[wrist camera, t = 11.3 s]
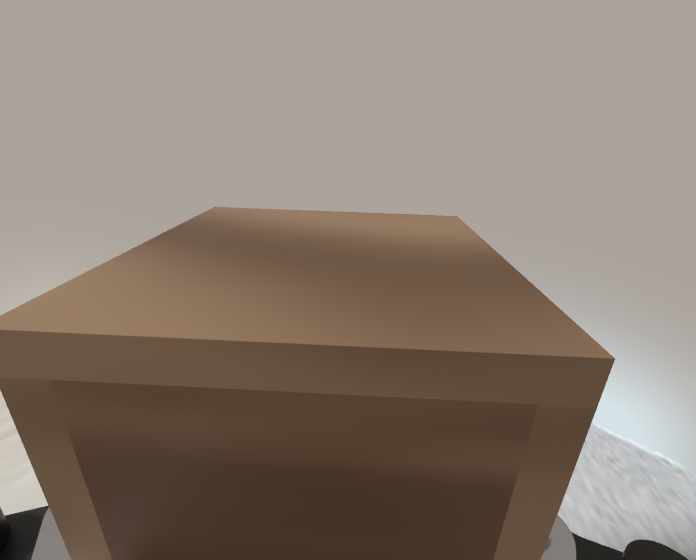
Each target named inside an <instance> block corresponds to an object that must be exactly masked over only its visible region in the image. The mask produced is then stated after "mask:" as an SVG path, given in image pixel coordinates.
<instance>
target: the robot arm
mask: <svg viewBox="0 0 696 560" xmlns="http://www.w3.org/2000/svg"><path fill="white" fill-rule="evenodd" d="M0 560H71V558H70V556H69V553H68V551H67V548H66V546H65V544H64V541H63V539H62V536H61V534H60V532H59V529H58V527H57V524H56V522H55V519H54V517H53V515H52V512H51V510H50V507H49V506H45V507H41V508H36V509H32V510H28V511H23V512H19V513H15V514H10V515H6V516H4V514H3V512H2V510H1V508H0ZM541 560H688V559H687V558H685V557H684V556H682V555H681V554H680V553H678V552H676V551H675V550H673V549H671V548H669V547H667V546H665V545H663V544H660V543H657V542H654V541H650V540H635V541H633V542H630V543H629V544H628V545H627V547H626V549H625V551H624V553H623V552H620V551H618V550H615V549H612V548H609V547H606V546H604V545H601V544H598V543H595V542H593V541H590V540H587V539H585V538H582V537H580V536H578V535H576V534H574V533H572V532H571V531H570V529H569V528H568V526H567V525H566V524H565V522H564V521H563V520H562V519H561V518H560V517H559V516H558V515H557V517H556V519H555V522H554V525H553V527H552V530H551V533H550V535H549V538H548V541H547V544H546V546H545V549H544V552H543V554H542V557H541Z"/></svg>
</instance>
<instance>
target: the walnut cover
mask: <svg viewBox="0 0 696 560" xmlns="http://www.w3.org/2000/svg"><path fill="white" fill-rule="evenodd" d="M614 360H615V358H614V357H613V356H612V355H610V354H609V353H608V352H607V351H606V350H605V349H603V348H602V347H601V346H600V345H599V344H598V343H597V342H596V341H595V340H594V339H593V338H591V337H590V336H589V335H588V334H587V333H586V332H585V331H584V330H583V329H582V328H580V327H579V326H578V325H577V324H576V323H575V322H574V321H573V320H572V319H570V318H569V317H568V316H567V315H566V314H565V313H564V312H563V311H562V310H560V309H559V308H558V307H557V306H556V305H555V304H554V303H553V302H552V301H550V300H549V299H548V298H547V297H546V296H545V295H544V294H543V293H542V292H540V291H539V290H538V289H537V288H536V287H535V286H534V285H533V284H532V283H530V282H529V281H528V280H527V279H526V278H525V277H524V276H523V275H521V274H520V273H519V272H518V271H517V270H516V269H515V268H514V267H513V266H512V265H511V264H509V263H508V262H507V261H506V260H505V259H504V258H503V257H502V256H501V255H499V254H498V253H497V252H496V251H495V250H494V249H493V248H492V247H490V246H489V245H488V244H487V243H486V242H485V241H484V240H483V239H482V238H480V237H479V236H478V235H477V234H476V233H475V232H474V231H473V230H472V229H470V228H469V227H468V226H467V225H466V224H465V223H464V222H463V221H462V220H461V219H459V218H458V217H457V216H435V215H409V214H408V215H407V214H383V213H356V212H331V211H305V210H278V209H251V208H225V207H214V208H212V209H210V210H208V211H206V212H204V213H202V214H200V215H198V216H196V217H194V218H192V219H190V220H188V221H186V222H184V223H182V224H180V225H178V226H176V227H174V228H173V229H170V230H168V231H166V232H164V233H162V234H160V235H158V236H156V237H154V238H153V239H151V240H149V241H147V242H145V243H143V244H141V245H139V246H137V247H135V248H133V249H131V250H129V251H127V252H125V253H123V254H121V255H119V256H117V257H115V258H113V259H111V260H109V261H107V262H105V263H103V264H101V265H99V266H97V267H95V268H93V269H92V270H89V271H87V272H86V273H84V274H82V275H80V276H78V277H76V278H74V279H72V280H70V281H68V282H66V283H64V284H62V285H60V286H58V287H56V288H54V289H52V290H50V291H48V292H46V293H44V294H42V295H40V296H38V297H36V298H34V299H32V300H31V301H28V302H26V303H25V304H22V305H20V306H18V307H16V308H15V309H13V310H11V311H9V312H7V313H5V314H3V315H1V316H0V390H1V392H2V395H3V397H4V399H5V402H6V404H7V407H8V409H9V411H10V414H11V416H12V419H13V421H14V423H15V426H16V428H17V431H18V433H19V435H20V438H21V440H22V443H23V445H24V447H25V450H26V452H27V455H28V457H29V459H30V462H31V464H32V467H33V469H34V471H35V474H36V476H37V479H38V481H39V483H40V486H41V488H42V491H43V493H44V495H45V498H46V500H47V503H48V505H49V507H50V510H51V512H52V515H53V517H54V519H55V522H56V524H57V527H58V529H59V532H60V534H61V536H62V539H63V541H64V544H65V546H66V548H67V551H68V553H69V556H70V558H71V560H541V557H542V554H543V552H544V549H545V546H546V544H547V541H548V538H549V535H550V533H551V530H552V527H553V525H554V522H555V519H556V517H557V514H558V511H559V508H560V506H561V503H562V500H563V498H564V495H565V492H566V490H567V487H568V484H569V482H570V479H571V476H572V473H573V471H574V468H575V465H576V463H577V460H578V457H579V455H580V452H581V449H582V446H583V444H584V441H585V438H586V436H587V433H588V430H589V428H590V425H591V422H592V419H593V417H594V414H595V411H596V409H597V406H598V403H599V401H600V398H601V395H602V392H603V389H604V387H605V384H606V382H607V379H608V376H609V374H610V371H611V368H612V365H613V363H614Z"/></svg>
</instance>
